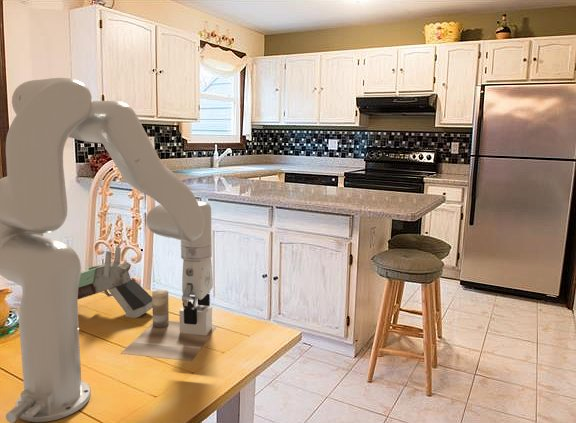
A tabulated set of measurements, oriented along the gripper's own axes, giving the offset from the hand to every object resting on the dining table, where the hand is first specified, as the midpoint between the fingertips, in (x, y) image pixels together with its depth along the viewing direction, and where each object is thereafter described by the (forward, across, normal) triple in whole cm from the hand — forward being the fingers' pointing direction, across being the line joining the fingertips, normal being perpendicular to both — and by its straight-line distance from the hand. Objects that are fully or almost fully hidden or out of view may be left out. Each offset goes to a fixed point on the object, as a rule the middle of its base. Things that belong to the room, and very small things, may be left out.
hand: (197, 315), depth 113 cm
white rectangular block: (+4, 0, 0) cm, 4 cm away
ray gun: (+5, +6, +32) cm, 33 cm away
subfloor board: (+5, -6, +4) cm, 9 cm away
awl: (+4, 0, +10) cm, 11 cm away
